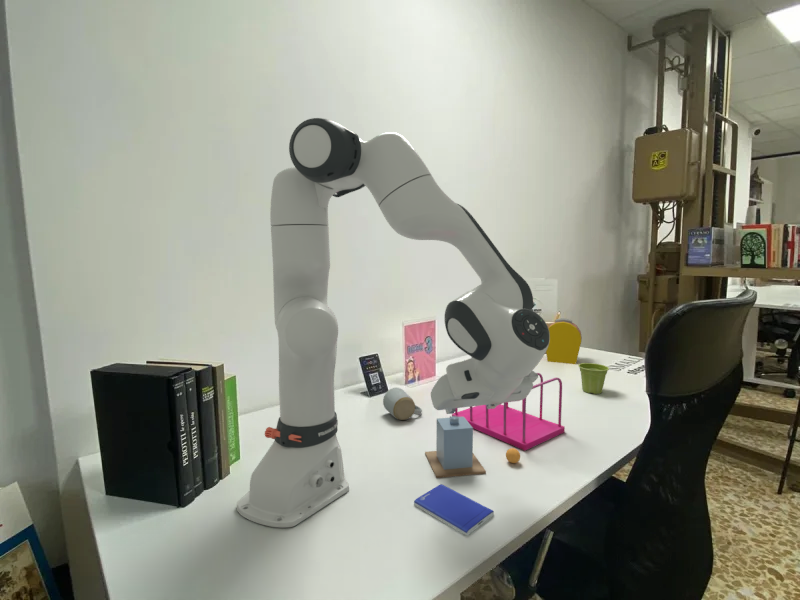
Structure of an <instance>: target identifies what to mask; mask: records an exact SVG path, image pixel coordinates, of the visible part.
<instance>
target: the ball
mask: <svg viewBox="0 0 800 600" xmlns="http://www.w3.org/2000/svg"><path fill="white" fill-rule="evenodd" d="M505 459H506V460H507V461H508V462H509V463H510V464H517V463H519V461H520V459H521V453H520V452H519V450H518V449H517V448H515V447H512V448H508V449H507V450H506V452H505Z"/></svg>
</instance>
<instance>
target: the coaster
mask: <svg viewBox="0 0 800 600" xmlns="http://www.w3.org/2000/svg"><path fill="white" fill-rule="evenodd" d="M424 455H425V457H426V459H427V461H428V463H429V465H430V467H431V470H432V472H433V474H434V476H435V478H436V479H438V478H439V479H441V478H442V479H443V478H451V477H461V476H472V475H473V476H475V475H484V474H485V475H486V473H487V470H486V469H485V468H484V466H483V465H482V464H481V462H480V461H479V458H477V457H476V455H475V454H474V453H473V460H472V467H468V468H457V469H446V470H444V469H443V467H442V465H441V463H440V461H439V460H438V458H437V456H436V450H432V451H424Z"/></svg>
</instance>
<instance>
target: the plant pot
mask: <svg viewBox="0 0 800 600" xmlns="http://www.w3.org/2000/svg"><path fill="white" fill-rule="evenodd" d="M578 368H579V372H580V375H581V376H580V377H581V387H582V388H581V389H582V391H583V392H585V393H587V394H590V393H591V394H595V395H599V394H602V393H603V390H604V385H605V380H606V376H607V374H608V371H609V370H610V367H608V365H607V366H606V365H604V364H599V363H593V362H592V363H590V362H583V363H579V364H578Z"/></svg>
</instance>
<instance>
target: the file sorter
mask: <svg viewBox="0 0 800 600" xmlns="http://www.w3.org/2000/svg"><path fill="white" fill-rule="evenodd" d="M536 373H537V374H538V377H539V378H540V382H539V383H537V384H533V388H532V390H533V389H536V388H539V387H540V391H539V392H540V395H539V417H538V416H535V415H532V414H529V413H527V408H526V407H527V406H526V405H527V397H526V398H525V399H523V400H521V401H522V403H521V404H522V405H521V409H522V410H518V409H516V408H512V407H509V402H506V403H503V404H500V405H498V406H496V407H495V408H494V409H487V405H480V406H471V407H467V408H466V409H465V408H464V409H463V410H460V411H458V410H459V408H455V409H456V411H455V412H454V413H452V414H451V417H452V416H456V417H464V418H465V419H466V420H467V421H468V423H469V424H470V425H471V426H472V427H473V430H476V431H479V432H481V433H483V434H485V435H488V436H490V437H492V438H495V439H497V440H499V441H501V442H504V443H506V444H508V445H511V446H513V447H514V448H516V449H517V448H518V449H520V450H522V451H524V452H525V451H527V450H529V449H531V448H534V447H536V446H539V445H541V444H542V443H544V442H547V441H549V440H551V439H553V438H555V437H557V436H559V435H562V434H564V433H565V432H566V431H565V430H566V428H565V426H564V425H562V403H563V402H562V401H563V399H562V398H563V382H562V379H561V378H559V377H553V378H550V379H547V380H545V381H544V378H543V375H542V374H541V373H540V372H536ZM555 381H558V383H559V384H558V385H559V391H558V392H559V393H558V420H557V421H558V422H557V423H556V422H553V421H550V420H547V419H543V404H544V403H543V398H544V397H543V396H544V393H543V392H544V385H546V384H549V383H552V382H555Z"/></svg>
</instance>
